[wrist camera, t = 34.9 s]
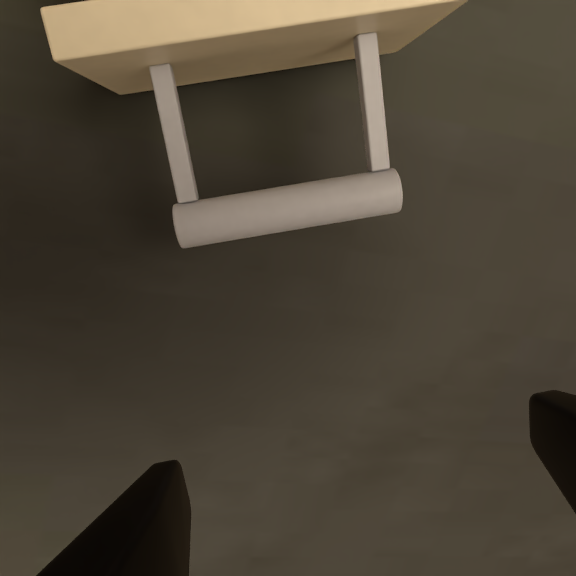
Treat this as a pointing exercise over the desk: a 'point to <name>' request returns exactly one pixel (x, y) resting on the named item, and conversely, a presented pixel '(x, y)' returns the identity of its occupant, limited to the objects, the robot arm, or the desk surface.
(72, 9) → the pod drawer
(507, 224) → the desk surface
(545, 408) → the robot arm
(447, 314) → the desk surface
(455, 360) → the desk surface
